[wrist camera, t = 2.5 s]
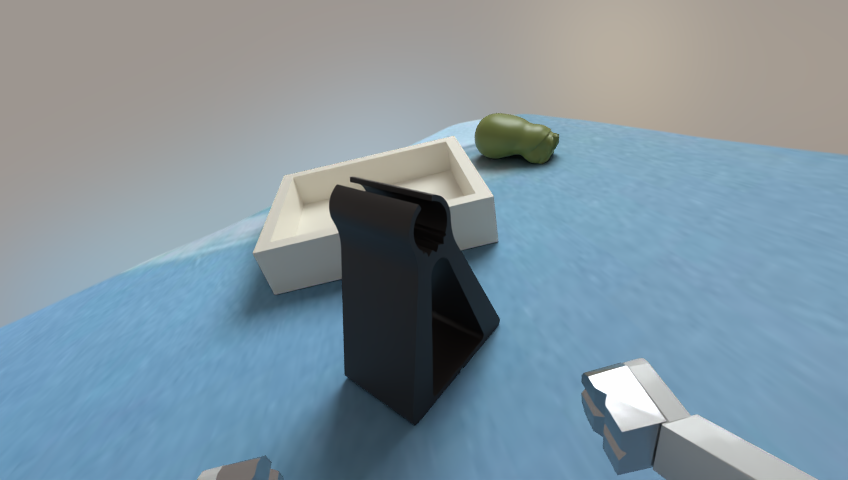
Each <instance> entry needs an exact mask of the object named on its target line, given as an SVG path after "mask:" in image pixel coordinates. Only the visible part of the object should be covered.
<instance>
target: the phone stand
mask: <svg viewBox="0 0 848 480" xmlns="http://www.w3.org/2000/svg"><path fill="white" fill-rule="evenodd" d="M350 182H352V183H357V184H360V185H362V186H363V188H364V189H365V191H362V190H358V189H354V188H350V187H346V186H342V185H338V184H337V185H336V186H335V188H334V189H333V191H332V193H331V196H330V200H329V212H330V216H331V218H332V220H333V222H334V224H335V225H336V228H337V230H338V233H339V236H340V242H341V266H342V300H343V334H344V368H345V376H347V377H348V378H349V379H351V380H352V381H354V382H355V383H356V384H358V385H359V386H361V387H362V388H363V389H365V390H366V391H368V392H369V393H370V394H372V395H373V396H375V397H376V398H377V399H379V400H380V401H382V402H383V403H384V404H386V405H387V406H388V407H390V408H391V409H393V410H394V411H395V412H397V413H398V414H400V415H401V416H402V417H404V418H405V419H407V420H408V421H409V422H411V423H412V424H414V425H416V424H418V423H419V421H420V420H421V419H422V418H423V416H424V415H425V414H426V413H427V412H428V410H429V409H430V408H431V407H432V405H433V404H434V403H435V402H436V401H437V399H438V398H439V397H440V396H441V395H442V393H443V392H444V391H445V390H446V388H447V387H448V386H449V385H450V384H451V382H452V381H453V380H454V379H455V378H456V376H457V375H458V374H459V373H460V369H461V368H462V367H463V368H464V367H465V365H466V364H467V363H468V362H469V361H470V359H471V358H472V357H473V356H474V354H475V353H476V352H477V351H478V350H479V348H480V347H481V346H482V345H483V344H484V342H485V341H486V340H487V339H488V337H489V336H490V335H491V334H492V333H493V331H494V330H495V329H496V328H497V326H498V325H499V322H500V319H499V317H498V315H497V313H496V311H495V310H494V308H493V306H492V304H491V303H490V301H489V299H488V297H487V296H486V294H485V292H484V290H483V289H482V287H481V285H480V283H479V282H478V280H477V278H476V276H475V275H474V273H473V271H472V269H471V268H470V266H469V264H468V262H467V261H466V259H465V257H464V255H463V254H462V252H461V250H460V248H459V247H458V245H457V243H456V241H455V239H454V236H453V232H452V226H451V213H450V208H449V205H448V203H447V201H446V200H445V199H444V198H443V197H441V196H439V195H435V194H431V193H426V192H422V191H417V190H413V189H408V188H404V187H399V186H395V185H390V184H385V183H381V182H376V181H372V180H367V179H363V178H358V177H350Z"/></svg>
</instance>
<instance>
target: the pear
mask: <svg viewBox="0 0 848 480" xmlns="http://www.w3.org/2000/svg"><path fill="white" fill-rule="evenodd" d="M550 130H551V129H550V128H548V127H546V126H544V125H540V124H532V123H530V122H528V121H527V120H525V119H523V118H521V117H518V116H514V115H509V114H502V113H501V114H500V113H498V114H497V113H496V114H491V115H488V116H486V117H485V118H483V119H482V120H481V121H480V123H479V124H478V126H477V128H476V132H475V144H476V147H477V149H478V150H479V152H480V153H481V154H483V155H484V156H486V157H488V158H492V159H498V158H502V157H507V156H511V155H516V154H518V155H522V156H523V157H524V158H525V159H526V160H527V161H529V162H531V163H540V164H543V163H545V162H546V161H548V160H549V158H550V156H551V155H552V154H553V153H554V149H555V148H556V147H557V145H558V143H559V134H556V133H553V132H551V131H550Z"/></svg>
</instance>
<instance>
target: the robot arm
mask: <svg viewBox="0 0 848 480" xmlns="http://www.w3.org/2000/svg"><path fill="white" fill-rule="evenodd" d="M582 384H583V386H584V387H585V390H584V391H583V392H582V393H581V395H582V404H583V408H584V412H585V414H586V417H587V419H588V421H589V423H590V425H591V427H592V429H593V431H595V432H596V433H598V434H599V435H601V436H602V437H603V449H604V451H605V453H606V455H607V457H608V459H609V460H610V462H611V464H612V466H613V468H614V470H615V471H616V473H617V475H621V474H625V473H629V472H634V471H638V470H643V469H647V468H651V467H653V470H654V471H656V472H657V473H658V474H660V475H661V476H662V477H664V478H665V479H666V480H818V479H816V478H814V477H812V476H810V475H808V474H806V473H805V472H803V471H801V470H799V469H797V468H795V467H793V466H792V465H790V464H788V463H786V462H784V461H782V460H781V459H779V458H777V457H775V456H773V455H771V454H769V453H768V452H766V451H764V450H762V449H760V448H758V447H756V446H755V445H753V444H751V443H749V442H747V441H745V440H743V439H742V438H740V437H738V436H736V435H734V434H732V433H731V432H729V431H727V430H725V429H723V428H721V427H719V426H718V425H716V424H714V423H712V422H710V421H708V420H706V419H705V418H703V417H701V416H699V415H692V416H691V415H690V414H689V413H688V412H687V410H686V409H685V408H684V406H683V405H682V404H681V403H680V401H679V400H678V399H677V398H676V396H675V395H674V394H673V393H672V391H671V390H670V389H669V388H668V386H667V385H666V384H665V383H664V381H663V380H662V379H661V378H660V376H659V375H658V374H657V373H656V371H655V370H654V369H653V368H652V366H651V365H650V364H649V363H648V361H646V360H645V359H643V358H638V359H634V360H631V361H627V362H624V363H618V364H614V365H610V366H607V367H603V368H600V369H596V370H592V371H589V372H585V373H583V375H582ZM271 463H272V462H271V461H270V460H269V459H268V458H267V456H266V455H265V456H261V457H257V458H253V459H249V460H245V461H241V462H237V463H233V464H229V465H224V466H220V467H216V468H213V469H209V470H205V471H203V472H202V473H201V475H200V476H199V477H198V479H197V480H284V478H283V476H282V475H281V473H280V472H279V471H276V470H273V469H270V468H271Z"/></svg>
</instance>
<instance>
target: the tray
mask: <svg viewBox="0 0 848 480" xmlns="http://www.w3.org/2000/svg"><path fill="white" fill-rule="evenodd" d="M350 177H358V178H363V179H367V180H372V181H376V182H381V183H385V184H390V185H395V186H399V187H404V188H408V189H413V190H417V191H422V192H426V193H431V194H435V195H439V196H441V197H443V198H444V199H445V200H446V201H447V203H448V205H449V208H450V213H451V226H452V232H453V236H454V239H455V241H456V243H457V245H458V247H459V248H460V250H465V249H469V248H473V247H477V246H482V245H486V244H490V243H494V242H498V233H497V223H496V214H495V204H494V196H493V195H492V193H491V191H490V190H489V188H488V187H487V185H486V184H485V182H484V181H483V179H482V178H481V176H480V175H479V173H478V172H477V170H476V168H475V167H474V165H473V164H472V162H471V161H470V159H469V158H468V156H467V155H466V153H465V152H464V150H463V149H462V147H461V145H460V144H459V142H458V141H457V139H456V138H455V136H451V137H447V138H443V139H438V140H434V141H430V142H426V143H421V144H417V145H413V146H408V147H404V148H400V149H396V150H392V151H388V152H383V153H379V154H375V155H371V156H366V157H362V158H357V159H353V160H349V161H345V162H340V163H336V164H332V165H328V166H324V167H319V168H315V169H311V170H306V171H302V172H298V173H294V174H289V175H285V176H284V177H283V180H282V182H281V184H280V187H279V189H278V192H277V194H276V197H275V199H274V202H273V204H272V207H271V209H270V212H269V214H268V217H267V219H266V222H265V224H264V227H263V229H262V232H261V234H260V237H259V239H258V242H257V244H256V247H255V249H254V252H253V255H254V257H255V259H256V261H257V262H258V264H259V266H260V268H261V270H262V272H263V274H264V276H265V278H266V280H267V281H268V283H269V285H270V287H271V289H272V291H273V293H274V295H276V294H281V293H285V292H289V291H293V290H297V289H302V288H306V287H310V286H314V285H318V284H323V283H327V282H331V281H335V280H339V279H342V266H341V242H340V236H339V233H338V230H337V228H336V225H335V224H334V222H333V220H332V218H331V216H330V212H329V200H330V196H331V193H332V191H333V189H334V188H335V186H336V185H337V184H338V185H342V186H346V187H350V188H354V189H358V190H362V191H365V189H364V188H363V186H362V185H360V184H357V183H352V182H350Z"/></svg>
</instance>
